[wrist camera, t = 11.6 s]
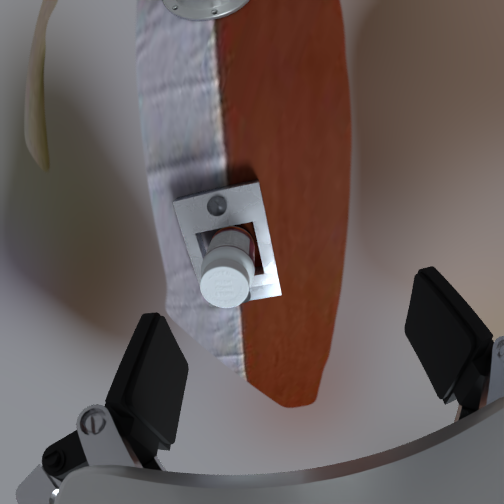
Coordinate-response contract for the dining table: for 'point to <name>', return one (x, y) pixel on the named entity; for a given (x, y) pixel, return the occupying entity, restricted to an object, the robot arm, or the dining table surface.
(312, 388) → the dining table surface
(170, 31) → the dining table surface
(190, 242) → the slotted white bracket
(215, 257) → the pill bottle
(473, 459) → the robot arm
